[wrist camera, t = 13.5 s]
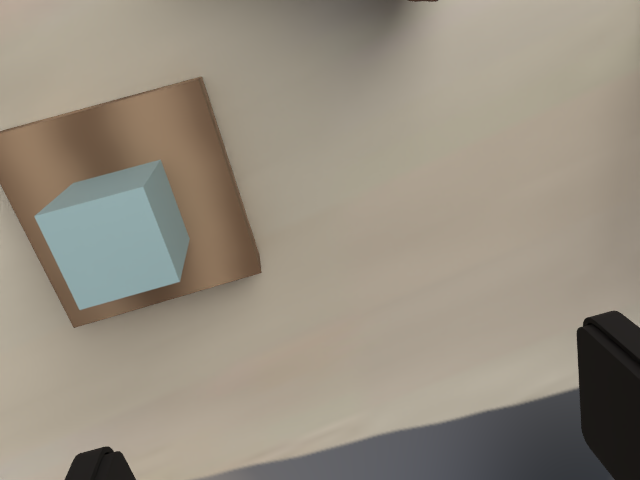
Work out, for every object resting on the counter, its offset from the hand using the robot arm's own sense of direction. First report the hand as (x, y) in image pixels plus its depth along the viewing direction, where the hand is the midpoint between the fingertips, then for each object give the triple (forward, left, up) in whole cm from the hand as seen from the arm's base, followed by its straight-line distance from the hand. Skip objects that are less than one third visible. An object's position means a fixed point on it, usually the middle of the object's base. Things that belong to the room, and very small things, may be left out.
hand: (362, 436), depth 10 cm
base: (+9, 0, -25) cm, 26 cm away
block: (+9, 0, -22) cm, 23 cm away
